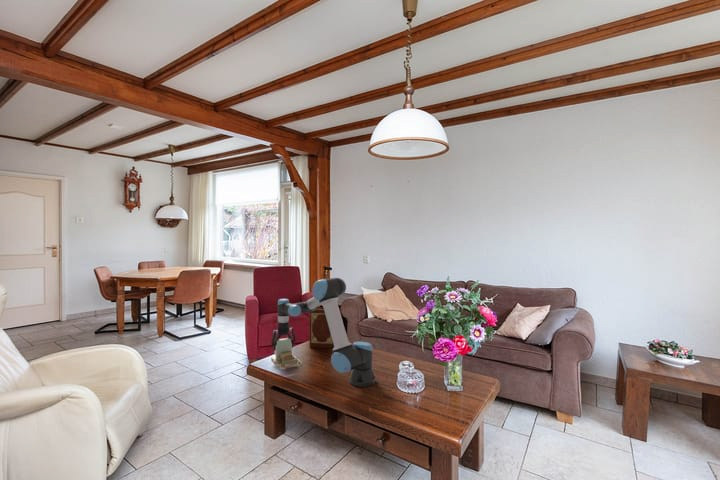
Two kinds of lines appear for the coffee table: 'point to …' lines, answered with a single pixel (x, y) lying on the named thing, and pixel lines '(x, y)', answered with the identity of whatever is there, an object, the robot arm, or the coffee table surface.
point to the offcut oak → (285, 354)
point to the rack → (287, 362)
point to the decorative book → (320, 330)
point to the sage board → (283, 346)
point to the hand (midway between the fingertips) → (283, 353)
